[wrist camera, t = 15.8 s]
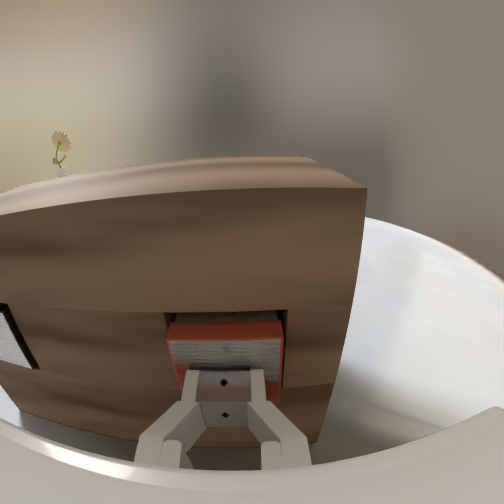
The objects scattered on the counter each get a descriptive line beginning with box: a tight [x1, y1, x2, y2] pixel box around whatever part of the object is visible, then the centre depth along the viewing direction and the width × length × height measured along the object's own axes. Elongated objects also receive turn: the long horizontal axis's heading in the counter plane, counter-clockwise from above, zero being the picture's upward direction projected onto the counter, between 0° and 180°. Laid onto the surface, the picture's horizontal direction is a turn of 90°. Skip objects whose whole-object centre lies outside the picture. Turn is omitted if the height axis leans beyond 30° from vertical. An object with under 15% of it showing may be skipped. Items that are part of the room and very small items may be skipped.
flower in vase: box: [52, 131, 71, 177], centre depth 66 cm, size 13×11×25 cm
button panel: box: [0, 155, 367, 448], centre depth 17 cm, size 11×24×16 cm, turn 92°
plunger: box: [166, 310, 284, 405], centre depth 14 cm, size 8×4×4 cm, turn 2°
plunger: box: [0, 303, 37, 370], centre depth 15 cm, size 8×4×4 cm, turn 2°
